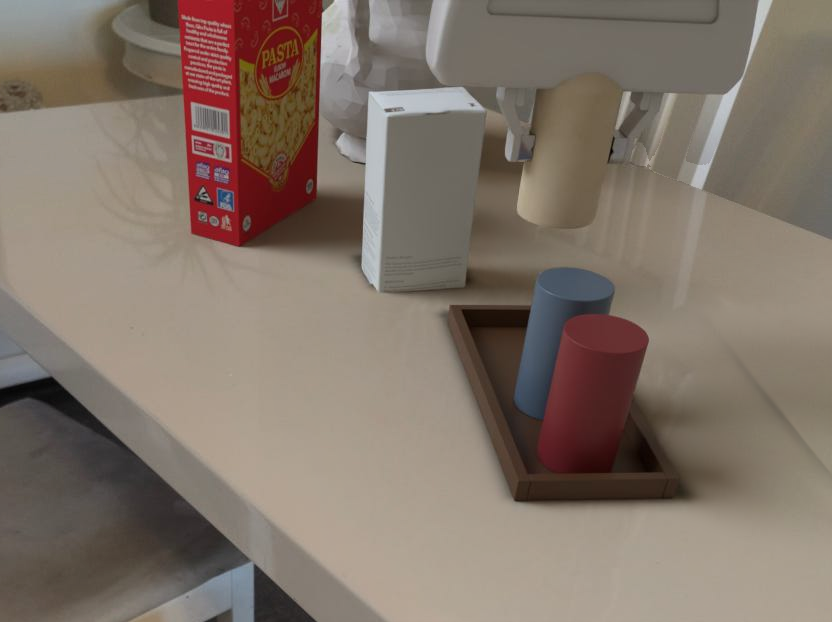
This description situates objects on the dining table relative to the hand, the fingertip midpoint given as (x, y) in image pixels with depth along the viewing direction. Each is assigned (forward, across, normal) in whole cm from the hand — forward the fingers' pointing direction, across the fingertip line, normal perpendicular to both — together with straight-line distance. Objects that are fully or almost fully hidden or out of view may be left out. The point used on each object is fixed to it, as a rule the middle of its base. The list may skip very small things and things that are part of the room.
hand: (565, 160), depth 66 cm
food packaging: (+15, +20, -30) cm, 39 cm away
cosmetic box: (+15, +7, -14) cm, 22 cm away
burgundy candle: (+14, 0, +14) cm, 20 cm away
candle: (+4, 0, 0) cm, 4 cm away
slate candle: (+14, 0, +7) cm, 16 cm away
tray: (+15, 0, +6) cm, 16 cm away
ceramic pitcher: (+15, +5, -48) cm, 51 cm away
